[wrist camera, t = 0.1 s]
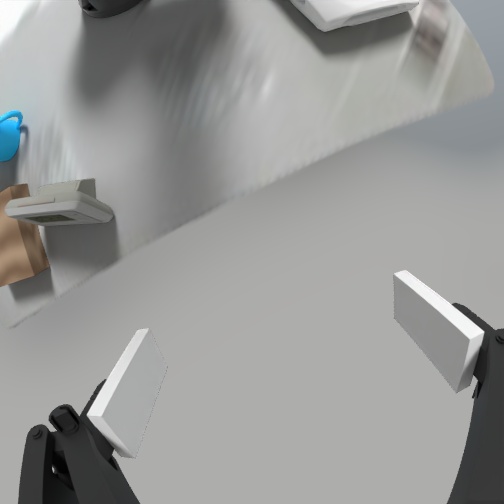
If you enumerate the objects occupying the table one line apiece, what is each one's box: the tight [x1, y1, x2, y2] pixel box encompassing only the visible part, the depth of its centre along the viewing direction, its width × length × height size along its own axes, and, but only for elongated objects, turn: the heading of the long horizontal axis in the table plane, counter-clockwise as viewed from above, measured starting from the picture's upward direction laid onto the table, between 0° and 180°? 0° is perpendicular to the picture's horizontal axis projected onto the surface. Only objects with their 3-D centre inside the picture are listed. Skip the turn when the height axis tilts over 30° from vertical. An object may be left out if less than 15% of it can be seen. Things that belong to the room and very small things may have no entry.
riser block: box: [0, 184, 50, 287], centre depth 38 cm, size 16×14×5 cm
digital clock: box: [5, 178, 113, 226], centre depth 34 cm, size 16×9×11 cm, turn 78°
